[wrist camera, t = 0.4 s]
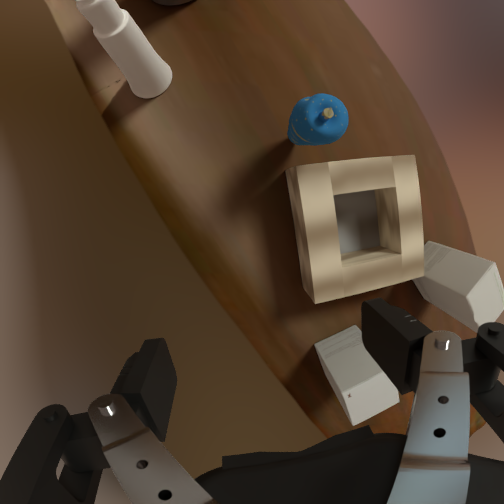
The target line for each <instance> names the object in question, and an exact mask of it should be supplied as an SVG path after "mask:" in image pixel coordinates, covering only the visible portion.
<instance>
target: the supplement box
mask: <svg viewBox="0 0 504 504" xmlns="http://www.w3.org/2000/svg"><path fill="white" fill-rule="evenodd" d="M314 346H315V348H316V351H317V354H318V357H319V359H320V362H321V365H322V367H323V370H324V373H325V375H326V377H327V379H328V381H329V383H330V385H331V386H332V388H333V390H334V392H335V394H336V396H337V398H338V399H339V401H340V403H341V405H342V407H343V409H344V411H345V413H346V414H347V416H348V418H349V420H350V422H351V424H352V425H353V426H354V425H356V424H358V423H360V422H362V421H364V420H366V419H368V418H370V417H372V416H374V415H376V414H378V413H380V412H382V411H384V410H385V409H387V408H389V407H391V406H393V405H395V404H396V403H398V402H399V396H398V389H397V388H396V387H395V386H394V384H393V383H392V382H391V381H390V379H389V378H388V377H387V375H386V374H385V373H384V372H383V370H382V369H381V368H380V367H379V365H378V364H377V363H376V362H375V360H374V359H373V358H372V357H371V355H370V354H369V353H368V352H367V350H366V349H365V347H364V345H363V342H362V331H361V330H360V329H359V328H358V327H357V326H356V325H353V326H351V327H349V328H347V329H345V330H343V331H341V332H339V333H337V334H335V335H333V336H331V337H329V338H327V339H324V340H322V341H320V342H318V343H316V344H314Z"/></svg>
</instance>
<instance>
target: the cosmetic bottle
mask: <svg viewBox="0 0 504 504" xmlns="http://www.w3.org/2000/svg"><path fill="white" fill-rule="evenodd" d="M75 1H76V6H77V9H78V10H79V11H80V12H81V13H82V14H83V16H84V17H85V18H86V19H87V20H88V21H89V22H90V24H91V25H92V26H93V33H94V35H95V37H96V38H97V40H98V41H99V42H100V44H101V45H102V47H103V48H104V49H105V51H106V52H107V53H108V54H109V56H110V57H111V58H112V60H113V61H114V62H115V64H116V65H117V66H118V68H119V69H120V70H121V72H122V73H123V75H124V76H125V78H126V79H127V81H128V83H129V85H130V88H131V90H132V92H133V93H134V94H135V95H136V96H138V97H141V98H153V97H156V96H158V95H160V94H161V93H163V92H164V91H165V90H166V89H167V88H168V86H169V85H170V83H171V80H172V71H171V68H170V67H169V65H168V64H167V63H165V62H164V61H163V60H162V59H161V58H160V57H159V56H158V54H157V53H156V52H155V50H154V49H153V48H152V46H151V45H150V43H149V42H148V40H147V39H146V37H145V36H144V34H143V33H142V31H141V30H140V28H139V27H138V26H137V24H136V23H135V21H134V20H133V19H132V17H131V16H130V15H129V13H128V12H127V11H126V10H124V9H120V8H119V6H118V4H117V3H116V1H115V0H75Z"/></svg>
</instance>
